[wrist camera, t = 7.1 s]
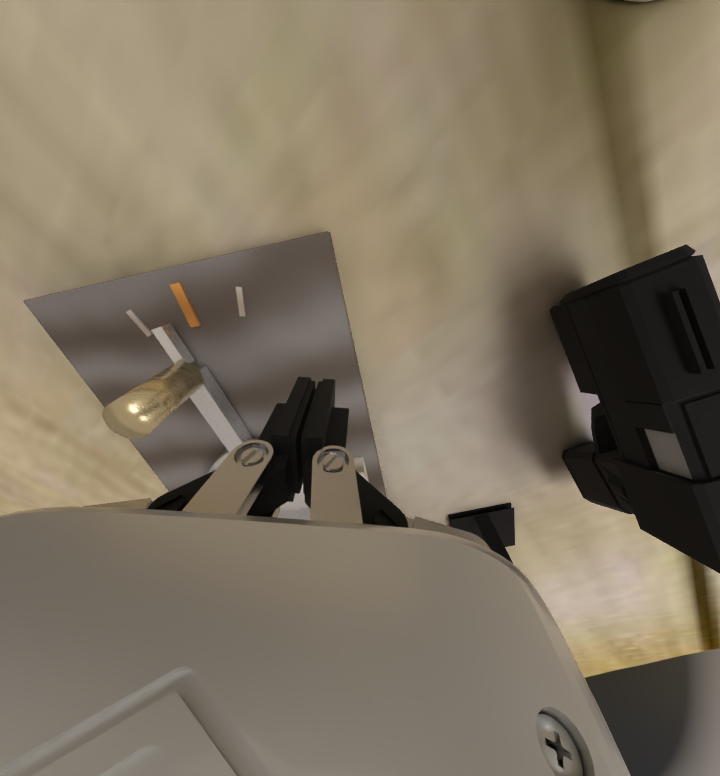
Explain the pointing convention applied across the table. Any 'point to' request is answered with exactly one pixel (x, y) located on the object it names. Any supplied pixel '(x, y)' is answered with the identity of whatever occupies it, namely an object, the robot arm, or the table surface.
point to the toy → (651, 397)
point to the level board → (219, 344)
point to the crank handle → (172, 389)
